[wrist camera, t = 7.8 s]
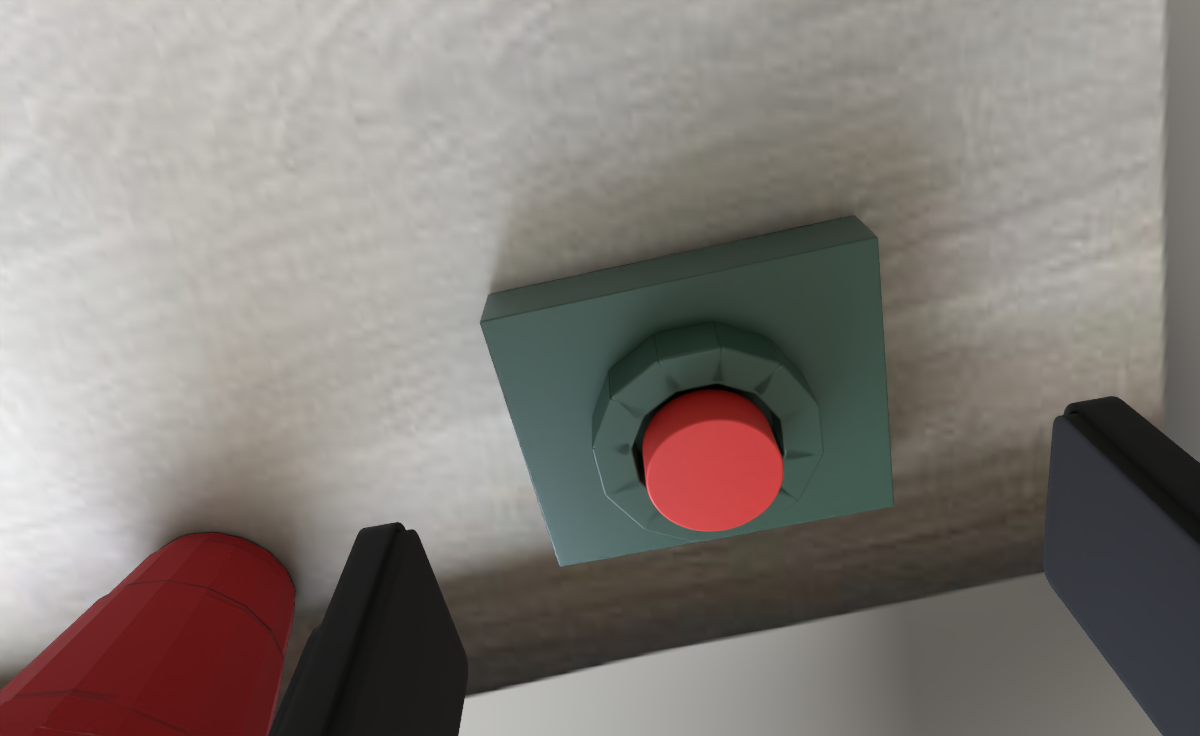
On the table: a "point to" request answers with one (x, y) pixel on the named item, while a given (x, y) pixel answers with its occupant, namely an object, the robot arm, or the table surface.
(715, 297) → the box
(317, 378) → the table surface
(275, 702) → the plastic cup
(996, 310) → the table surface
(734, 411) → the release button
